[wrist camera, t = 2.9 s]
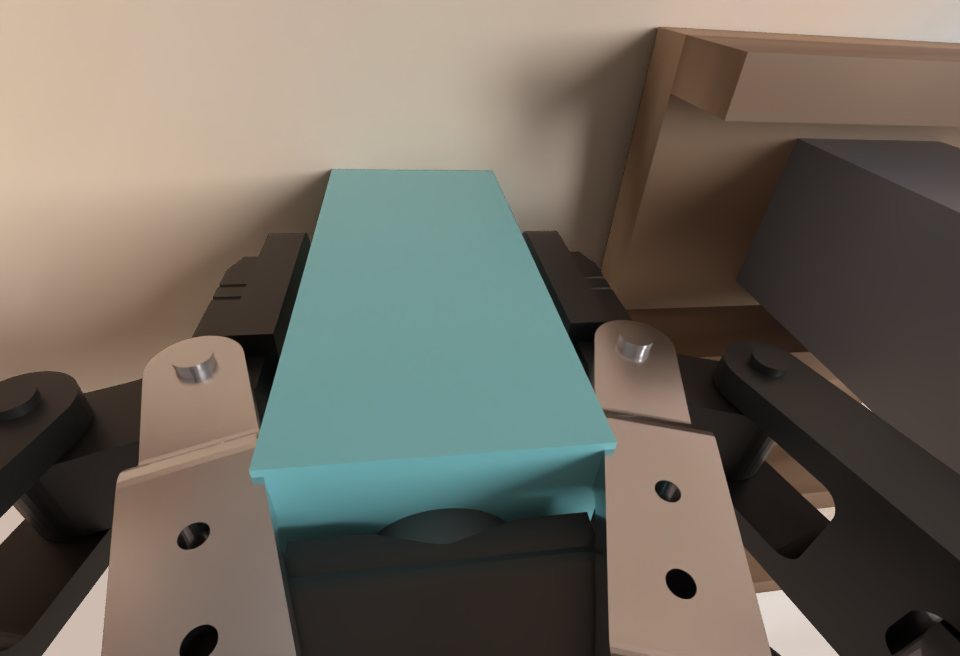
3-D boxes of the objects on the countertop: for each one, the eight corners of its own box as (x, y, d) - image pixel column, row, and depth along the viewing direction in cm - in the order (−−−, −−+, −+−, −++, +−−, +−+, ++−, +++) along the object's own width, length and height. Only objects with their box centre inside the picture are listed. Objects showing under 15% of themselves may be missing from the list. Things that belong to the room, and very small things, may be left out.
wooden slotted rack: (658, 26, 10) (748, 52, 7) (1058, 48, 11) (1245, 76, 9) (536, 542, 22) (555, 619, 19) (741, 520, 23) (783, 589, 21)
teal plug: (332, 169, 11) (147, 839, 3) (492, 171, 11) (750, 731, 3) (348, 304, 13) (274, 903, 5) (482, 300, 14) (622, 831, 5)
